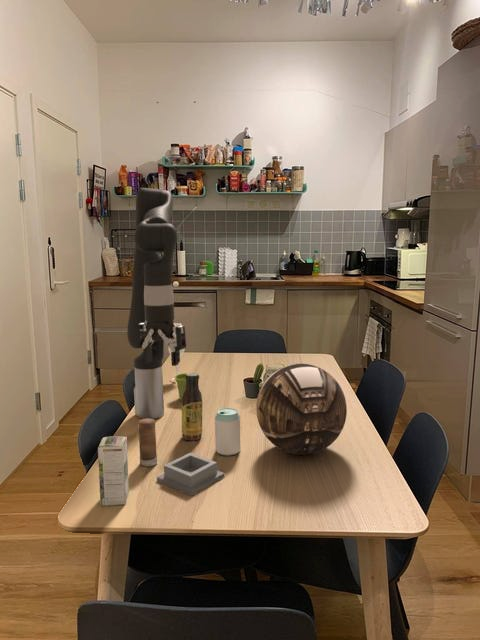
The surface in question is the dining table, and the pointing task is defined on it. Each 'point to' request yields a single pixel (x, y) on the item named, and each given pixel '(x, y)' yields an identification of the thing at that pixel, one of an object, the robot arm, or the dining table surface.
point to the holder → (190, 473)
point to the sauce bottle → (192, 408)
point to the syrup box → (113, 470)
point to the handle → (147, 443)
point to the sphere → (301, 409)
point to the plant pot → (181, 383)
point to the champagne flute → (180, 352)
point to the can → (227, 431)
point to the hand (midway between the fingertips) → (161, 363)
